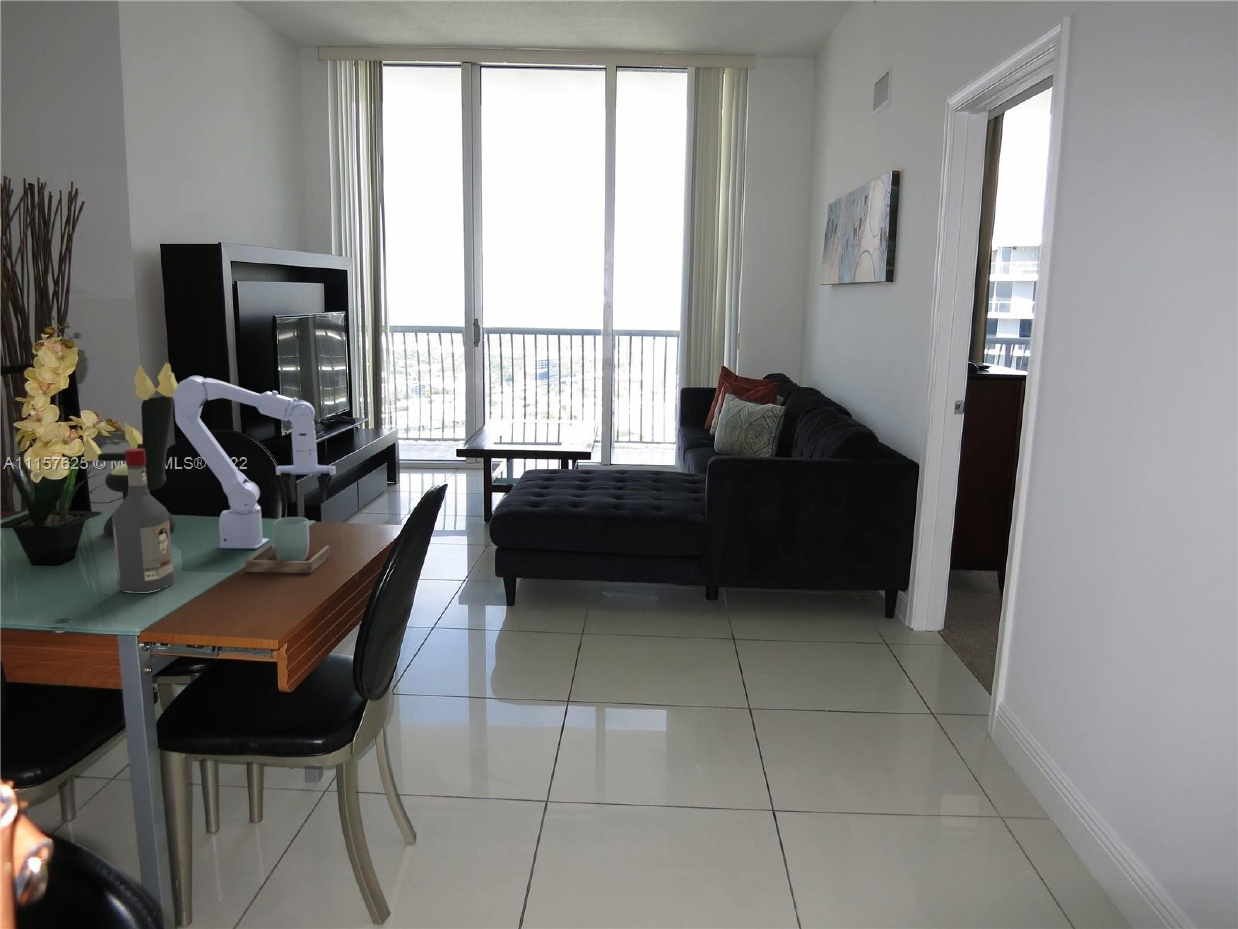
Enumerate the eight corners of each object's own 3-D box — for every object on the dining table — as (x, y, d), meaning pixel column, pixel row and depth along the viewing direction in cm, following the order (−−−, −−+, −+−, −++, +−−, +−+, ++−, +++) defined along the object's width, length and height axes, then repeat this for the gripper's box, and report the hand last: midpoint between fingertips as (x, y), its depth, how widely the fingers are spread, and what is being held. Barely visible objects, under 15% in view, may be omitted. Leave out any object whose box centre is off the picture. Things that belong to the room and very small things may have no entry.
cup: (315, 557, 211) (313, 517, 209) (301, 567, 203) (299, 525, 201) (284, 556, 211) (282, 516, 210) (269, 565, 204) (266, 524, 202)
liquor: (112, 593, 184) (99, 453, 178) (139, 579, 192) (127, 445, 187) (154, 595, 183) (142, 454, 177) (179, 581, 192) (168, 447, 186)
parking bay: (245, 571, 199) (245, 561, 199) (268, 554, 212) (268, 544, 212) (311, 573, 199) (311, 562, 199) (330, 555, 212) (330, 545, 212)
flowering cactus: (133, 521, 240) (119, 357, 232) (209, 525, 238) (197, 359, 229) (84, 539, 222) (67, 362, 213) (166, 544, 219) (152, 364, 211)
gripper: (338, 447, 224) (341, 498, 226) (281, 446, 224) (285, 498, 226) (329, 451, 217) (332, 505, 219) (271, 451, 217) (275, 504, 219)
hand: (308, 502), depth 222 cm, fingers open, 7 cm apart
